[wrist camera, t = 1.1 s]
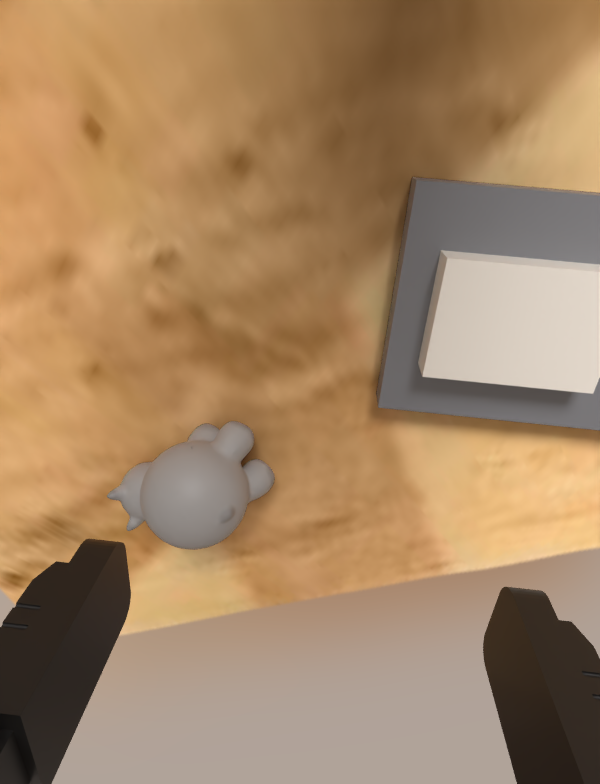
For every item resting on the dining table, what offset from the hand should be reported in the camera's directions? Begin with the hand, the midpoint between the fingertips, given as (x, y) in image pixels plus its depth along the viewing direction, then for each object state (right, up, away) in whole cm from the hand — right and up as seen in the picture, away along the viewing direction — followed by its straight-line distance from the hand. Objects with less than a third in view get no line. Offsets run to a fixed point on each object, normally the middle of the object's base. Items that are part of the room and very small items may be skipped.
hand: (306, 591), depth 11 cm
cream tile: (+12, +8, +18) cm, 23 cm away
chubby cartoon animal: (-8, -1, +28) cm, 29 cm away
